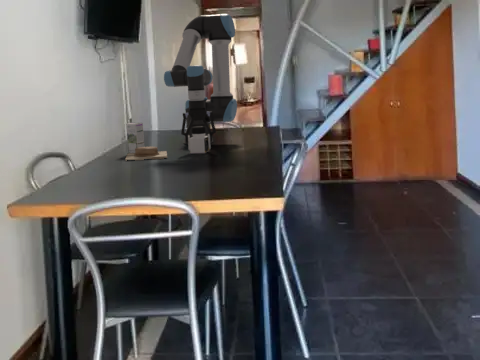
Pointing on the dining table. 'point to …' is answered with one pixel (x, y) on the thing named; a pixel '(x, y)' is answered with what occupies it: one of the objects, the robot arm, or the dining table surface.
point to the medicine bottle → (198, 140)
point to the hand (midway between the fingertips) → (199, 149)
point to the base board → (161, 156)
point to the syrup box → (135, 136)
